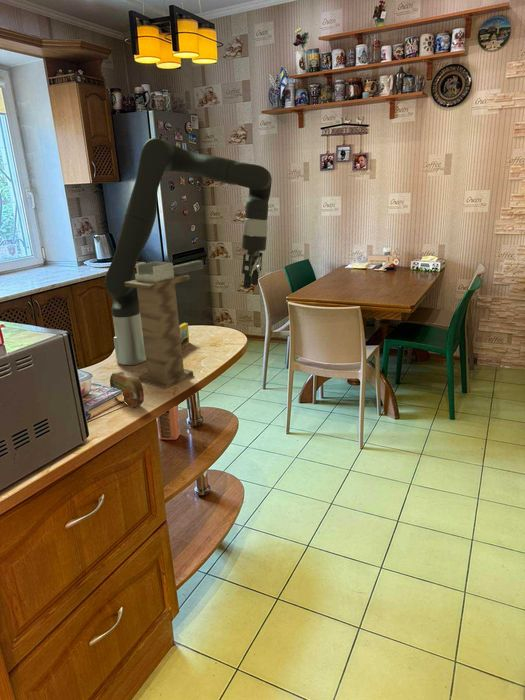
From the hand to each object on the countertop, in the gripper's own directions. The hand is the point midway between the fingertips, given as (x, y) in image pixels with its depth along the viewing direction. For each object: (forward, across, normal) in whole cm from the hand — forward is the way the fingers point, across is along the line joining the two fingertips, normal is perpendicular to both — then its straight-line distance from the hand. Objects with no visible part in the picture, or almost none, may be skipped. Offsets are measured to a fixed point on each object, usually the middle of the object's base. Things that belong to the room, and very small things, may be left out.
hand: (250, 286), depth 158 cm
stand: (+31, +13, -22) cm, 40 cm away
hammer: (-2, +9, -22) cm, 24 cm away
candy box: (+29, -13, -30) cm, 44 cm away
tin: (+33, +31, -25) cm, 52 cm away
